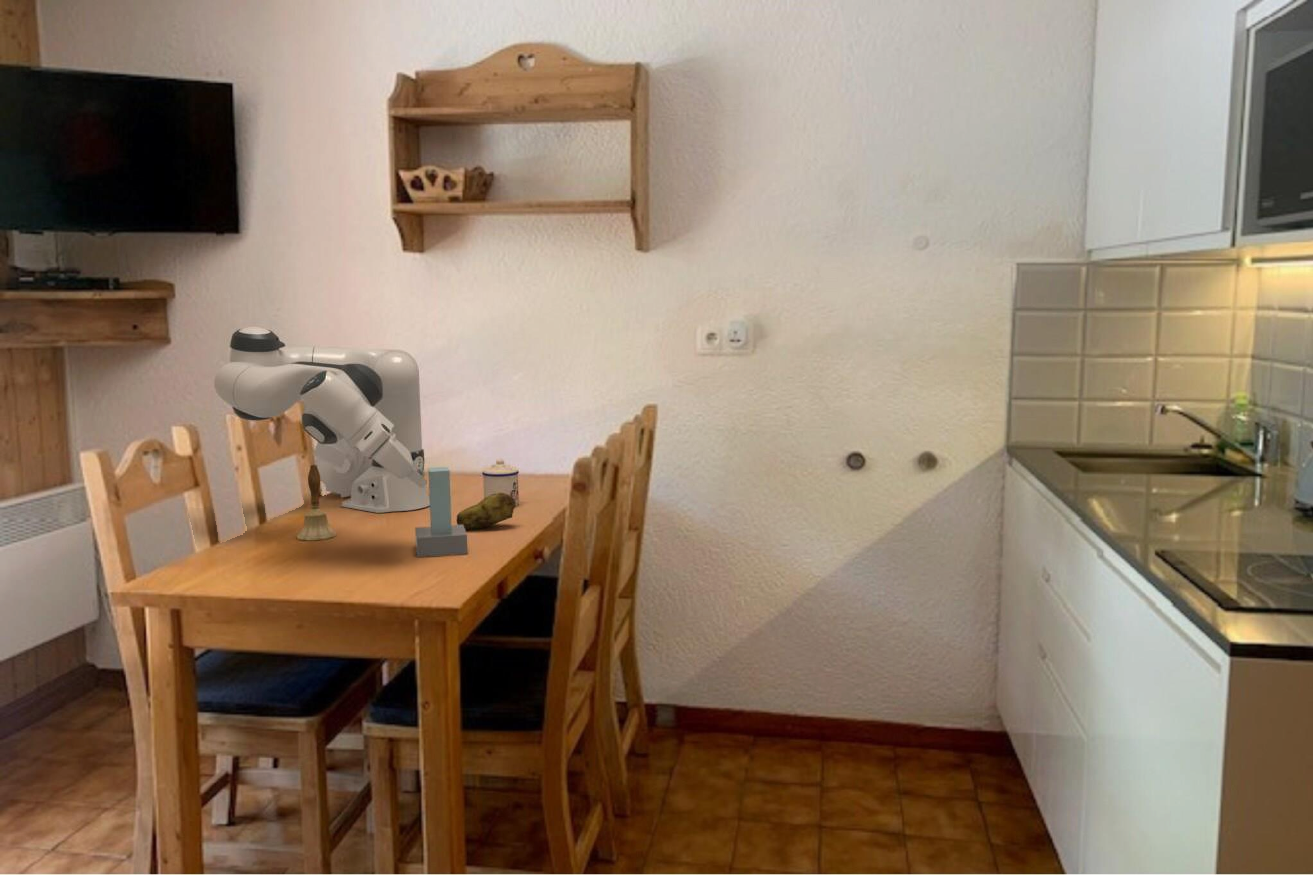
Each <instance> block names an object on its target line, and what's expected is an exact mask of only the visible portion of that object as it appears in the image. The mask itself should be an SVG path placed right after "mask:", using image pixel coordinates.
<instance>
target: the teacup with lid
mask: <svg viewBox="0 0 1313 875" xmlns="http://www.w3.org/2000/svg"><path fill="white" fill-rule="evenodd" d="M481 473H482V477H483V480H482V481H483V482H482V483H483V499H484V498H486V497H488V496H490V495H492V494H497V493H505V494H507V495H510V496H511V497H513V498H514V500H515V503H516V504H515V506H516V507H518V506H519V503H520V501H519V500H520V499H519V497H520V496H519V474H520V473H519V469H518V468H517V467H514V466H511V465H510V464H508V463H506V462H505V460H504V459H496V461H495V463H494V464H492V465H491V466H488V467H485V468H484V469H483V470H482V472H481Z"/></svg>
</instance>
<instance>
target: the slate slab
mask: <svg viewBox="0 0 1313 875" xmlns="http://www.w3.org/2000/svg"><path fill="white" fill-rule="evenodd" d="M451 526H452V533H444V534H432V532H431V526H422V527H421V526H418V527H416V526H415V527H414V530H415V531H414V532H415V549H416V556H417V558H425V557H426V558H428V557H427V556H431V557H442V556H441V555H446V556H451V555H450V554H460V555H468V534H467V531H466V529H465V528H464V525H458V524H451Z"/></svg>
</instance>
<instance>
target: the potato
mask: <svg viewBox="0 0 1313 875" xmlns="http://www.w3.org/2000/svg"><path fill="white" fill-rule="evenodd" d="M515 504H516V503H515V500H514V498H513V497H511V496H510V495H507V494H505V493H497V494H492V495H490V496H488V497H486V498H484V497H483V499H482V500H481V501H479V502H478V503H477V504H474V505H472V506H469V507H467V508H464V509H463V510H461V511H460V512H458V513H457V515H456V525H464V528H465V530H470V529H485V528H490V527H492V526H495V525H497V524H498V523H500V522H504V521H507V520H509V519H512V518H513V517H514V516H513V514H514V510H515V508H516V507H515Z"/></svg>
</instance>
